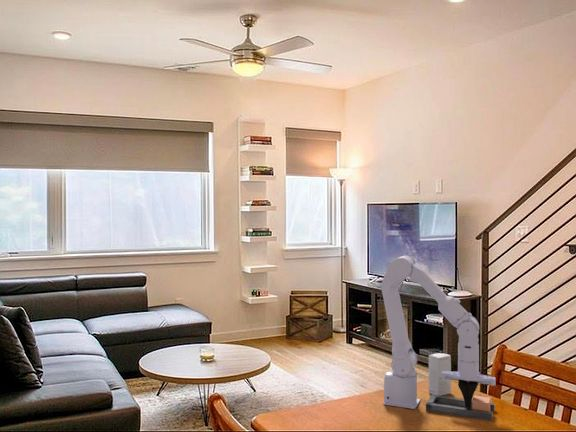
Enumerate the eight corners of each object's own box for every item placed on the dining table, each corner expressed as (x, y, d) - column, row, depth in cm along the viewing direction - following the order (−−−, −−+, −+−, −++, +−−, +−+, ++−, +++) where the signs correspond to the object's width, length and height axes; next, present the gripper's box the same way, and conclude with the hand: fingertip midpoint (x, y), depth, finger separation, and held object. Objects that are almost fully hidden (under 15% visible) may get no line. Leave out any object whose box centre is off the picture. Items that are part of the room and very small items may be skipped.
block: (472, 415, 154) (472, 401, 154) (474, 409, 158) (474, 395, 158) (488, 417, 152) (488, 403, 152) (490, 411, 157) (490, 397, 157)
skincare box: (438, 396, 169) (438, 358, 169) (427, 392, 173) (427, 354, 173) (451, 393, 173) (452, 355, 173) (440, 389, 176) (440, 352, 176)
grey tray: (425, 410, 157) (425, 404, 157) (431, 401, 166) (431, 394, 166) (492, 421, 150) (492, 413, 150) (494, 410, 158) (494, 403, 158)
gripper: (496, 359, 157) (496, 406, 157) (444, 353, 163) (444, 398, 163) (494, 365, 151) (494, 414, 151) (440, 359, 157) (440, 406, 157)
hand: (468, 406), depth 157 cm, fingers closed
